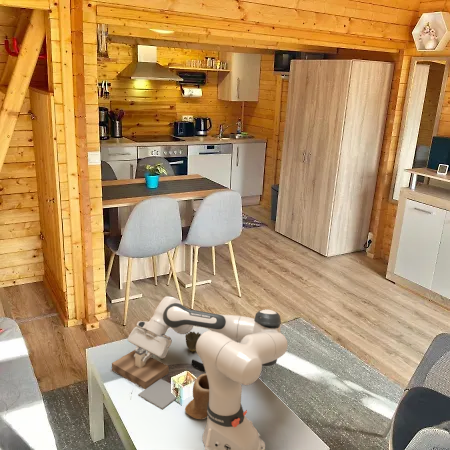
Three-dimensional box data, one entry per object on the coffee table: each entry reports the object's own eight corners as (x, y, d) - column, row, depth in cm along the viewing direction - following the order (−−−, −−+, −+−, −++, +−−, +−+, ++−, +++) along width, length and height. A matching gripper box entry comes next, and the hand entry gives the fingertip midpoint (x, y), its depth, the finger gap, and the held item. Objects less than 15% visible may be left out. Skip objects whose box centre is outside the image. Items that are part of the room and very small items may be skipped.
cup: (182, 353, 212) (182, 337, 210) (188, 344, 219) (188, 330, 216) (197, 356, 210) (198, 341, 208) (203, 348, 217) (203, 333, 214)
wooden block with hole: (168, 373, 197) (168, 366, 196) (145, 389, 186) (145, 382, 185) (135, 355, 208) (135, 349, 207) (111, 370, 197) (111, 363, 196)
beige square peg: (145, 371, 197) (145, 350, 194) (140, 374, 195) (140, 353, 192) (140, 368, 199) (140, 347, 196) (135, 371, 197) (135, 350, 193)
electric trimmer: (194, 363, 206) (195, 357, 205) (223, 376, 197) (223, 370, 196) (189, 367, 203) (189, 361, 202) (218, 380, 194) (218, 374, 193)
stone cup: (205, 427, 168) (207, 392, 163) (180, 413, 174) (181, 379, 169) (228, 405, 180) (231, 372, 175) (204, 393, 186) (206, 361, 181)
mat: (184, 392, 185) (184, 391, 185) (162, 409, 175) (162, 408, 175) (160, 379, 192) (160, 378, 192) (138, 395, 182) (138, 394, 182)
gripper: (176, 341, 196) (160, 371, 191) (142, 325, 207) (126, 353, 202) (170, 336, 191) (153, 367, 187) (135, 320, 202) (118, 349, 198)
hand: (139, 359), depth 195 cm, fingers closed on beige square peg, 3 cm apart
